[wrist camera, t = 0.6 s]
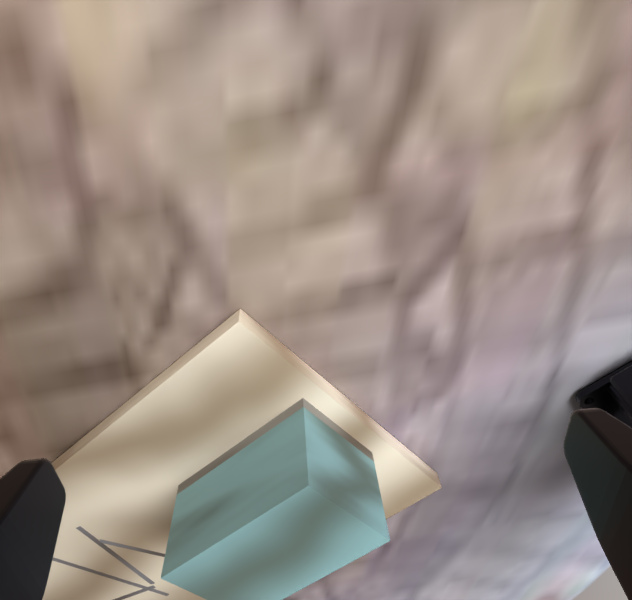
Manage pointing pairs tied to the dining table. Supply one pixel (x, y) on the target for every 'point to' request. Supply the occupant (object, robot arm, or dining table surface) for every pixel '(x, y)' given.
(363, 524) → the block
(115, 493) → the board
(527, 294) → the dining table surface
